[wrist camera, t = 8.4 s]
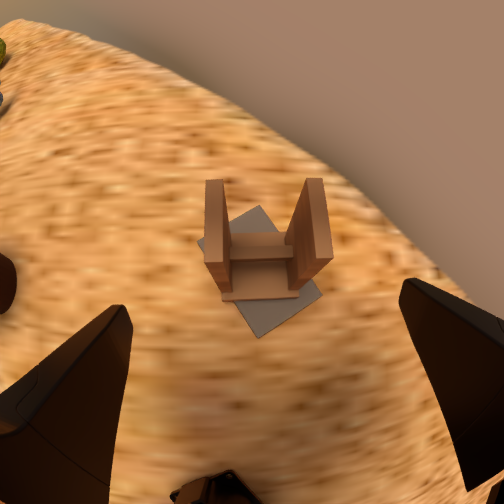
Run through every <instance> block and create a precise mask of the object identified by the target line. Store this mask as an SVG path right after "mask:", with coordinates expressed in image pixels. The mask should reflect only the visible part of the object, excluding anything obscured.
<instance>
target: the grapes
mask: <svg viewBox="0 0 504 504" xmlns="http://www.w3.org/2000/svg"><path fill="white" fill-rule="evenodd" d="M0 84H1V82H0ZM2 102H3V95H2V93H1V92H0V106H1V104H2Z"/></svg>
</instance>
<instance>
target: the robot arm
mask: <svg viewBox="0 0 504 504" xmlns="http://www.w3.org/2000/svg"><path fill="white" fill-rule="evenodd" d="M399 307H400V309H401V312H402V315H403V317H404V320H405V323H406V325H407V328H408V331H409V334H410V337H411V339H412V342H413V344H414V346H415V349H416V351H417V353H418V355H419V357H420V360H421V362H422V364H423V366H424V369H425V371H426V373H427V376H428V378H429V380H430V383H431V385H432V387H433V390H434V392H435V395H436V397H437V400H438V403H439V405H440V408H441V410H442V413H443V416H444V419H445V421H446V424H447V427H448V430H449V433H450V436H451V439H452V442H453V445H454V449H455V452H456V455H457V458H458V462H459V465H460V469H461V472H462V476H463V480H464V484H465V488H466V491H467V492H469V491H471V490H473V489H474V488H476V487H478V486H479V485H481V484H483V483H484V482H486V481H487V480H489V479H490V478H492V477H493V476H495V475H496V474H498V473H499V472H501V471H502V470H504V320H502V319H500V318H498V317H496V316H494V315H492V314H490V313H488V312H486V311H484V310H482V309H480V308H478V307H476V306H474V305H472V304H470V303H468V302H466V301H464V300H462V299H460V298H458V297H456V296H454V295H452V294H450V293H448V292H446V291H443V290H441V289H439V288H437V287H435V286H433V285H431V284H429V283H426V282H424V281H422V280H420V279H418V278H408V279H405V280H404V282H403V285H402V289H401V292H400V296H399ZM132 336H133V325H132V322H131V319H130V317H129V314H128V312H127V309H126V307H125V306H124V305H122V304H121V305H111V306H110V307H109V308H107V309H106V310H105V311H104V312H102V313H101V314H100V315H98V316H97V317H96V318H95V319H93V320H92V321H91V322H89V323H88V324H87V325H86V326H84V327H83V328H82V329H81V330H79V331H78V332H77V333H75V334H74V335H73V336H72V337H70V338H69V339H68V340H67V341H66V342H64V343H63V344H62V345H61V346H59V347H58V348H57V349H56V350H54V351H53V352H52V353H51V354H50V355H48V356H47V357H46V358H45V359H44V360H42V361H41V362H40V363H39V365H36V366H35V367H34V368H33V369H32V370H30V371H29V372H28V373H27V374H26V375H24V376H23V377H22V378H21V379H19V380H18V381H17V382H16V383H14V384H13V385H12V386H10V387H9V388H8V389H6V390H5V391H4V392H2V393H1V394H0V504H109V492H110V487H109V486H110V480H111V471H112V463H113V455H114V448H115V441H116V434H117V428H118V422H119V416H120V411H121V405H122V400H123V395H124V390H125V385H126V380H127V375H128V369H129V361H130V352H131V344H132ZM228 474H231V475H232V477H228V476H227V475H228ZM174 496H177V498H176V497H174ZM170 499H171V500H172V501H173V502H174V504H263V503H262V501H261V500H260V499H259V498H258V497H257V496H256V495H255V494H254V493H253V492H252V491H251V490H250V489H249V488H248V487H247V485H246V484H245V483H244V482H243V481H242V480H241V479H240V478H239V476H238V475H237V474H236V473H235V472H234V471H232V470H226V471H224V472H222V473H219V474H217V475H215V476H213V477H210V478H209V477H204V478H202V479H199V480H197V481H194V482H191V483H189V484H186V485H184V486H182V488H181V489H179V490H177V491H174V492H172V493H171V494H170ZM486 504H504V478H503V479H501V480H500V481H499V482H497V483H496V484H495V485H493V486H492V488H491V491H490V494H489V497H488V499H487V502H486Z"/></svg>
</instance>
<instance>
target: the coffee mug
mask: <svg viewBox="0 0 504 504" xmlns="http://www.w3.org/2000/svg"><path fill="white" fill-rule="evenodd" d="M16 285H17V278H16V271H15V267H14V265H13V263H12V261H11V260H10V259H8V258H7V257H5V256H4V255H3V254H1V253H0V314H2V313H5V312H6V311H7V310H8V309H9V307H10V306H11V304H12V302H13V299H14V296H15V292H16Z"/></svg>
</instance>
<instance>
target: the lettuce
mask: <svg viewBox="0 0 504 504" xmlns="http://www.w3.org/2000/svg"><path fill="white" fill-rule="evenodd" d="M5 54H6V44H5V42H4V41H3V40H2V39H1V38H0V64H1V63H2V61H3V59H4V57H5Z"/></svg>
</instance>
